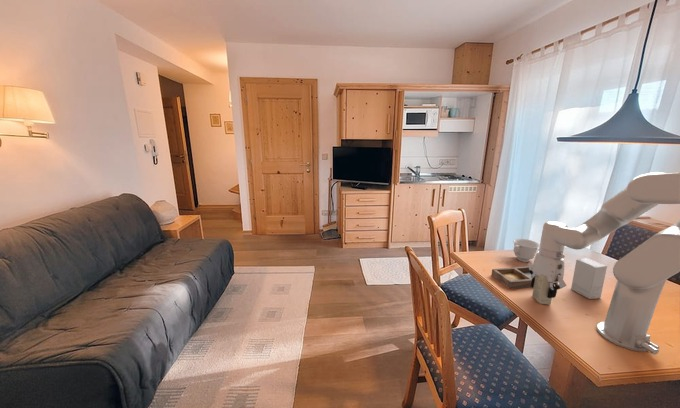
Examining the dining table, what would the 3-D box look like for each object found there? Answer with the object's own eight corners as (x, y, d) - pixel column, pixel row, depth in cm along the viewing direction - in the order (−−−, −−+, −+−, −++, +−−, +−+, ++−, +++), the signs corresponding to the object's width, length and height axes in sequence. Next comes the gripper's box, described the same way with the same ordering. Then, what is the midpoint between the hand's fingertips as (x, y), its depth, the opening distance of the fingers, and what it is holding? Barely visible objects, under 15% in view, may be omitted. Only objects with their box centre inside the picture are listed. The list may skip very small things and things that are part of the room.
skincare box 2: (600, 298, 112) (609, 266, 108) (588, 299, 111) (596, 267, 107) (580, 287, 120) (588, 257, 116) (568, 288, 119) (576, 258, 115)
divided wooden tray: (553, 284, 122) (555, 278, 121) (509, 288, 119) (511, 282, 118) (532, 271, 133) (533, 265, 132) (491, 275, 130) (492, 269, 129)
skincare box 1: (551, 305, 107) (556, 277, 104) (539, 303, 108) (544, 276, 105) (542, 295, 113) (548, 270, 110) (531, 294, 114) (536, 269, 111)
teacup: (501, 258, 148) (504, 241, 145) (519, 253, 154) (522, 237, 151) (523, 267, 137) (526, 249, 135) (541, 262, 143) (545, 245, 140)
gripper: (580, 261, 98) (571, 303, 102) (539, 243, 114) (532, 280, 119) (563, 263, 96) (553, 305, 101) (524, 244, 113) (517, 281, 118)
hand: (542, 291), depth 110 cm, fingers closed on skincare box 1, 7 cm apart
